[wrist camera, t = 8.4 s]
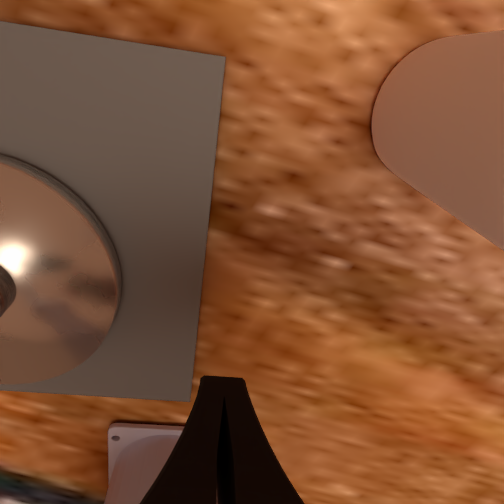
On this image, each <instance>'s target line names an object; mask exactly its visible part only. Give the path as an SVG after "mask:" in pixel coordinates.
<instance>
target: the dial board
mask: <svg viewBox="0 0 504 504" xmlns="http://www.w3.org/2000/svg"><path fill="white" fill-rule="evenodd" d="M225 59H226V57H222V56H216V55H210V54H203V53H197V52H191V51H184V50H178V49H172V48H166V47H159V46H153V45H147V44H141V43H134V42H128V41H122V40H115V39H109V38H103V37H97V36H90V35H84V34H78V33H71V32H65V31H59V30H53V29H46V28H40V27H34V26H27V25H21V24H15V23H9V22H2V21H0V155H4V156H7V157H11V158H14V159H17V160H19V161H21V162H24V163H26V164H29V165H31V166H33V167H35V168H37V169H39V170H41V171H42V172H44V173H46V174H48V175H50V176H51V177H53V178H54V179H56V180H57V181H59V182H60V183H61V184H63V185H64V186H66V187H67V188H68V189H69V190H71V191H72V192H73V193H74V194H75V195H76V196H77V197H79V198H80V199H81V200H82V201H83V202H84V203H85V204H86V206H87V207H88V208H89V209H90V210H91V211H92V212H93V213H94V215H95V216H96V217H97V219H98V220H99V222H100V223H101V224H102V226H103V227H104V229H105V231H106V232H107V234H108V236H109V238H110V240H111V242H112V244H113V247H114V249H115V252H116V254H117V258H118V262H119V266H120V271H121V282H122V286H121V298H120V302H119V307H118V310H117V312H116V315H115V317H114V320H113V322H112V324H111V327H110V329H109V331H108V334H107V335H106V337H105V339H104V340H103V342H102V343H101V345H100V346H99V347H98V349H97V350H96V351H95V352H94V353H93V354H92V355H91V356H90V357H89V358H88V359H87V360H85V361H84V362H83V363H82V364H80V365H78V366H77V367H75V368H74V369H72V370H70V371H68V372H66V373H64V374H62V375H59V376H57V377H53V378H50V379H47V380H43V381H38V382H33V383H25V384H0V390H5V391H21V392H37V393H53V394H70V395H86V396H102V397H118V398H135V399H151V400H167V401H184V402H190V397H191V387H192V378H193V368H194V358H195V349H196V339H197V329H198V320H199V310H200V300H201V291H202V281H203V271H204V262H205V252H206V242H207V233H208V223H209V213H210V204H211V194H212V184H213V175H214V165H215V155H216V146H217V136H218V126H219V117H220V107H221V97H222V88H223V78H224V68H225Z"/></svg>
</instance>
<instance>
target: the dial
mask: <svg viewBox="0 0 504 504" xmlns="http://www.w3.org/2000/svg"><path fill="white" fill-rule="evenodd" d="M121 286H122V282H121V271H120V266H119V262H118V258H117V254H116V252H115V249H114V247H113V244H112V242H111V240H110V238H109V236H108V234H107V232H106V231H105V229H104V227H103V226H102V224H101V223H100V222H99V220H98V219H97V217H96V216H95V215H94V213H93V212H92V211H91V210H90V209H89V208H88V207H87V206H86V204H85V203H84V202H83V201H82V200H81V199H80V198H79V197H77V196H76V195H75V194H74V193H73V192H72V191H71V190H69V189H68V188H67V187H66V186H64V185H63V184H61V183H60V182H59V181H57V180H56V179H54V178H53V177H51V176H50V175H48V174H46V173H44V172H42V171H41V170H39V169H37V168H35V167H33V166H31V165H29V164H26V163H24V162H21V161H19V160H17V159H14V158H11V157H7V156H4V155H0V384H25V383H33V382H38V381H43V380H47V379H50V378H53V377H57V376H59V375H62V374H64V373H66V372H68V371H70V370H72V369H74V368H75V367H77V366H78V365H80V364H82V363H83V362H84V361H85V360H87V359H88V358H89V357H90V356H91V355H92V354H93V353H94V352H95V351H96V350H97V349H98V347H99V346H100V345H101V343H102V342H103V340H104V339H105V337H106V335H107V334H108V331H109V329H110V327H111V324H112V322H113V320H114V317H115V315H116V312H117V310H118V307H119V302H120V298H121Z"/></svg>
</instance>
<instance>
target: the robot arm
mask: <svg viewBox="0 0 504 504" xmlns="http://www.w3.org/2000/svg"><path fill="white" fill-rule="evenodd" d="M115 435H116V436H115ZM108 474H109V487H108V490H107V494H106V498H105V501H104V504H304V502H303V501H302V499H301V498H300V496H299V495H298V493H297V492H296V490H295V489H294V487H293V485H292V484H291V482H290V481H289V479H288V477H287V476H286V474H285V472H284V471H283V469H282V467H281V465H280V463H279V462H278V460H277V458H276V456H275V454H274V452H273V450H272V448H271V446H270V444H269V442H268V440H267V438H266V436H265V434H264V432H263V429H262V427H261V425H260V423H259V421H258V418H257V416H256V413H255V411H254V408H253V405H252V403H251V400H250V397H249V394H248V391H247V387H246V383H245V381H244V380H243V378H234V377H219V376H203V377H202V378H201V380H200V386H199V390H198V394H197V397H196V400H195V403H194V405H193V408H192V411H191V413H190V415H189V418H188V420H187V422H186V424H185V426H167V425H149V424H131V423H113V424H111V425H110V426H109V429H108Z"/></svg>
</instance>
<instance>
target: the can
mask: <svg viewBox="0 0 504 504" xmlns="http://www.w3.org/2000/svg"><path fill="white" fill-rule="evenodd" d="M372 138H373V143H374V147H375V150H376V153H377V155H378V157H379V158H380V160H381V161H382V162H383V164H384V165H385V166H386V167H387V168H388V169H389V170H390V171H391V172H393V173H394V174H395V175H396V176H398V177H399V178H400V179H402V180H403V181H405V182H406V183H407V184H409V185H410V186H412V187H413V188H414V189H416V190H417V191H419V192H420V193H421V194H423V195H424V196H426V197H427V198H429V199H430V200H431V201H433V202H434V203H436V204H437V205H439V206H440V207H441V208H443V209H444V210H446V211H447V212H449V213H450V214H452V215H453V216H454V217H456V218H457V219H459V220H460V221H462V222H463V223H464V224H466V225H467V226H469V227H470V228H472V229H473V230H475V231H476V232H477V233H479V234H480V235H482V236H483V237H485V238H486V239H488V240H489V241H491V242H492V243H493V244H495V245H496V246H498V247H499V248H501V249H502V250H504V30H501V31H491V32H482V33H473V34H465V35H457V36H450V37H444V38H440V39H437V40H434V41H431V42H428V43H426V44H424V45H422V46H420V47H418V48H417V49H415V50H414V51H412V52H411V53H409V54H408V55H407V56H406V57H404V58H403V59H402V60H401V61H400V62H399V63H398V64H397V65H396V66H395V67H394V69H393V70H392V71H391V72H390V74H389V75H388V77H387V78H386V80H385V81H384V83H383V85H382V87H381V89H380V91H379V93H378V96H377V98H376V101H375V105H374V109H373V114H372Z"/></svg>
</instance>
